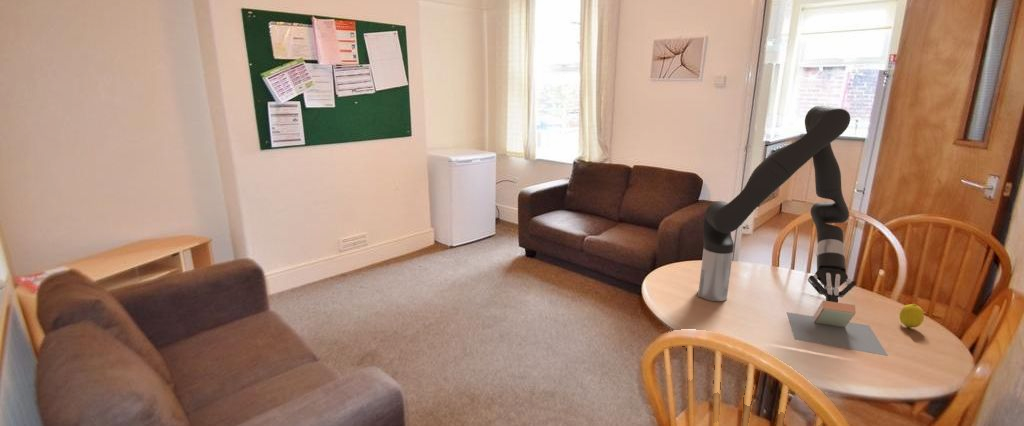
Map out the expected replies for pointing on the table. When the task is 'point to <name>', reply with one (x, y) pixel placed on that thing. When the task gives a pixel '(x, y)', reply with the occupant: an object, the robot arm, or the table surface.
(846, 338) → the mat
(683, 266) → the table surface
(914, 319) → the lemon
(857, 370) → the table surface
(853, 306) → the tile
